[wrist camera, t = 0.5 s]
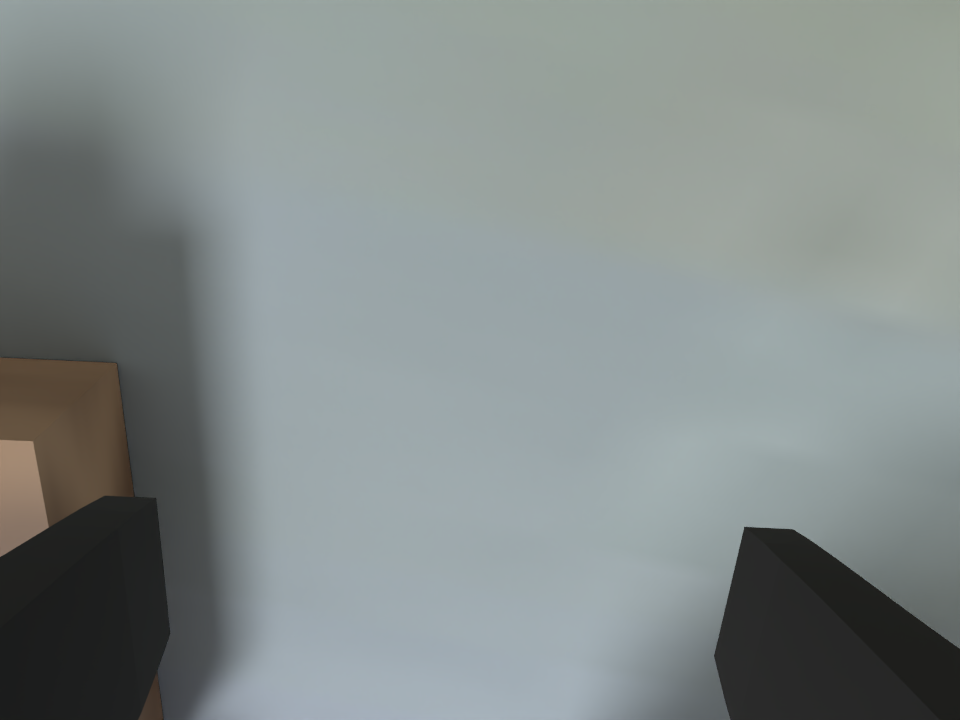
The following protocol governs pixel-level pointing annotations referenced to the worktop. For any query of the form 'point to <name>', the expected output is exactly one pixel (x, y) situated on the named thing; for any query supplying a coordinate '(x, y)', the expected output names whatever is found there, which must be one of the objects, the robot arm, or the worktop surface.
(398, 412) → the worktop surface
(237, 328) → the worktop surface
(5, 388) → the hitch block
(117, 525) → the robot arm
